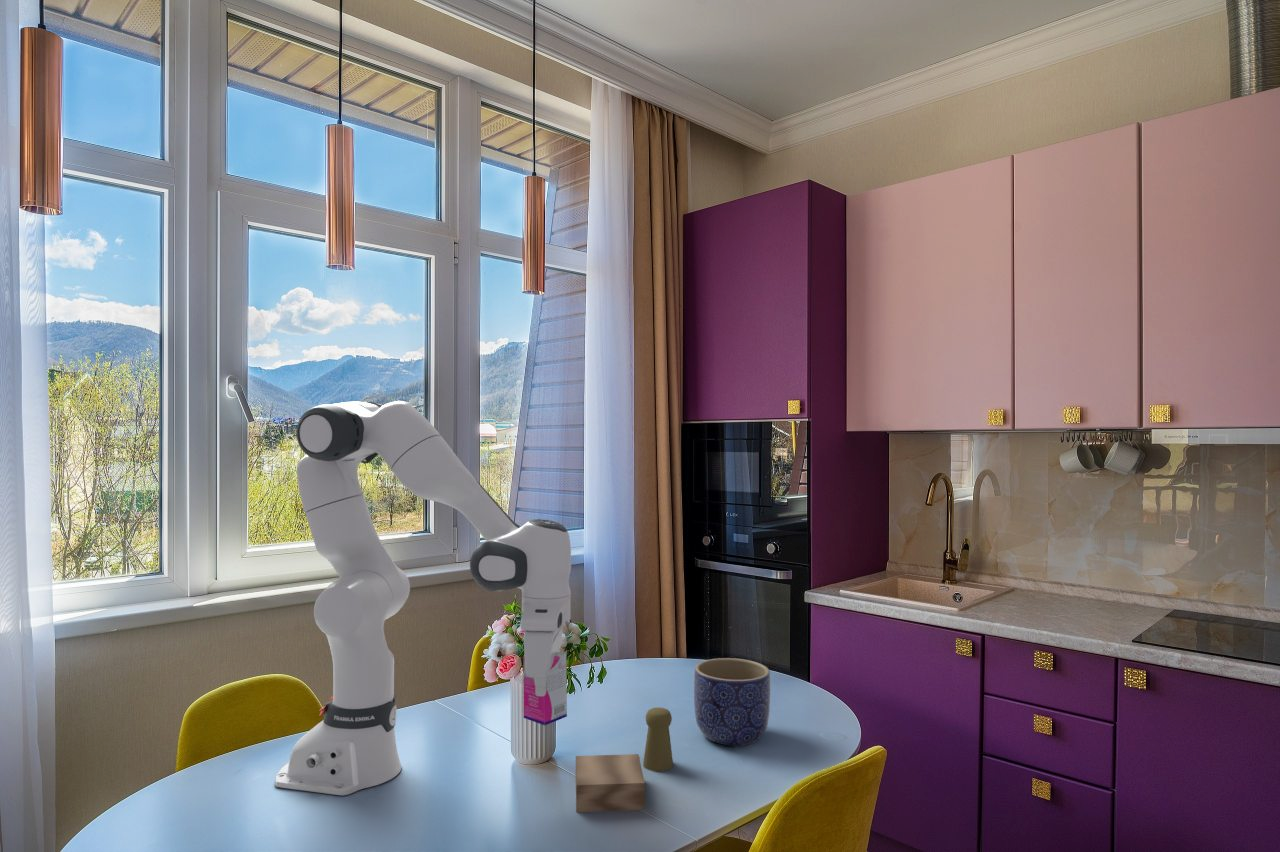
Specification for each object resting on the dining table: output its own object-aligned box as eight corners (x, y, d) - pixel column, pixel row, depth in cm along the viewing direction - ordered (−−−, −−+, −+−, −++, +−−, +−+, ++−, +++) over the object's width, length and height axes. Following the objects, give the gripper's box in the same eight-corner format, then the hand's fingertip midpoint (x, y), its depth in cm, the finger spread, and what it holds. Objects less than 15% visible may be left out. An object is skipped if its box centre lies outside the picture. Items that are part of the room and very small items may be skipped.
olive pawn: (647, 772, 148) (648, 716, 148) (639, 759, 154) (640, 705, 154) (677, 769, 150) (677, 713, 150) (667, 756, 155) (668, 703, 156)
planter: (687, 747, 160) (688, 676, 160) (700, 719, 176) (700, 655, 176) (766, 756, 156) (767, 684, 156) (772, 726, 172) (772, 660, 172)
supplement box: (545, 709, 142) (545, 647, 142) (567, 717, 138) (568, 653, 138) (521, 718, 137) (522, 654, 137) (544, 726, 133) (545, 661, 134)
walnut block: (576, 813, 132) (576, 785, 132) (575, 782, 144) (575, 756, 144) (644, 811, 134) (644, 782, 134) (638, 780, 146) (638, 754, 146)
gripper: (538, 597, 148) (537, 668, 148) (518, 623, 128) (517, 705, 128) (570, 597, 148) (569, 668, 148) (555, 624, 128) (554, 706, 127)
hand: (545, 686), depth 138 cm, fingers closed on supplement box, 8 cm apart
